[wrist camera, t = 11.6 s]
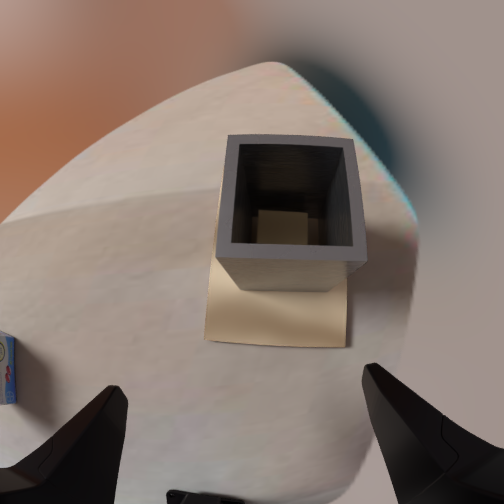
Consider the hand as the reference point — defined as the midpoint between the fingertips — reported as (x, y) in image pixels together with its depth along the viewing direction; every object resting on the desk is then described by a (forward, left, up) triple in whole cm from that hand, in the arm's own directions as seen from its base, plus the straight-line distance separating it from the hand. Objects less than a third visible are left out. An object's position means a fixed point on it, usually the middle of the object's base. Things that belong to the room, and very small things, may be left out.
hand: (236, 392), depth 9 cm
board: (+8, -2, -12) cm, 14 cm away
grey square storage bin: (+8, -2, -10) cm, 13 cm away
